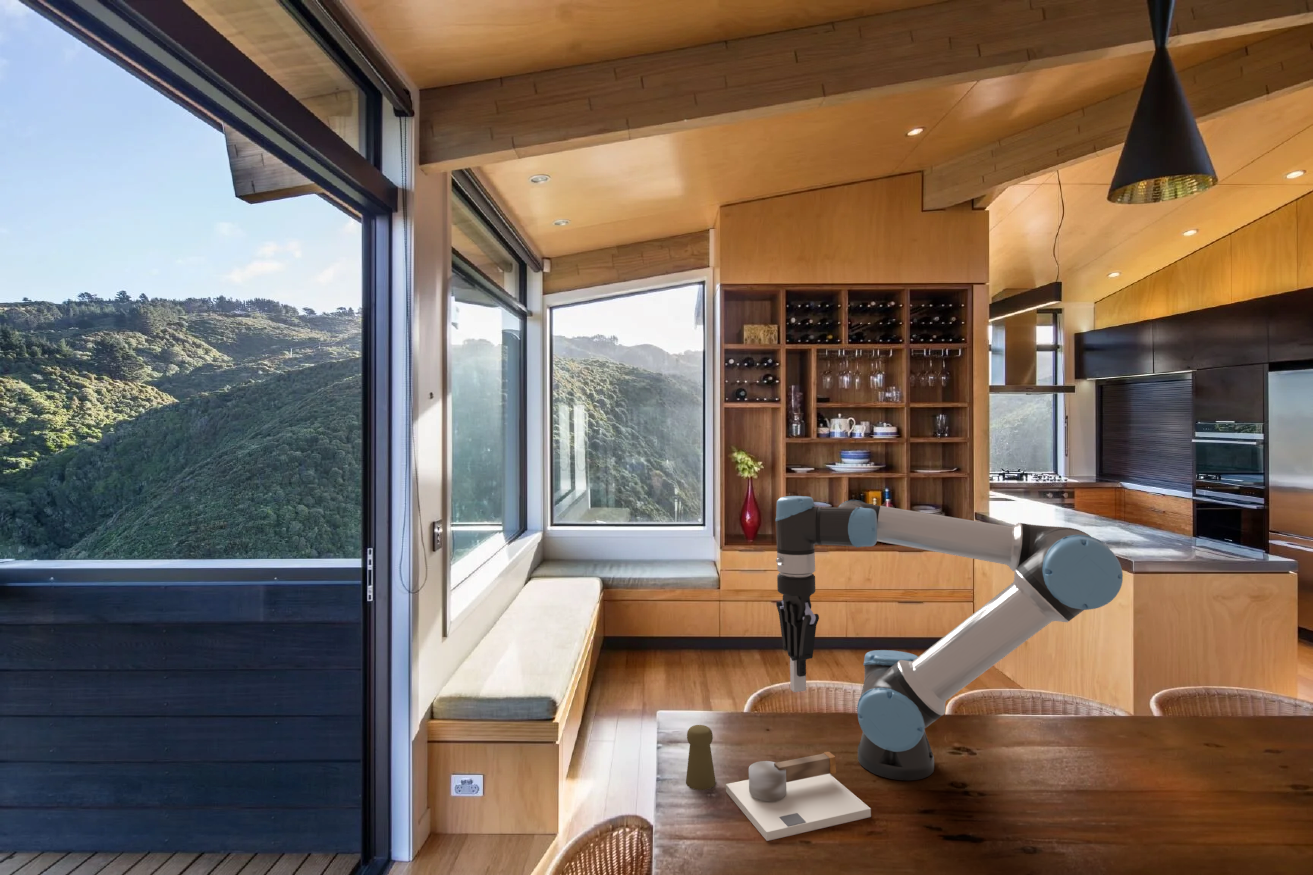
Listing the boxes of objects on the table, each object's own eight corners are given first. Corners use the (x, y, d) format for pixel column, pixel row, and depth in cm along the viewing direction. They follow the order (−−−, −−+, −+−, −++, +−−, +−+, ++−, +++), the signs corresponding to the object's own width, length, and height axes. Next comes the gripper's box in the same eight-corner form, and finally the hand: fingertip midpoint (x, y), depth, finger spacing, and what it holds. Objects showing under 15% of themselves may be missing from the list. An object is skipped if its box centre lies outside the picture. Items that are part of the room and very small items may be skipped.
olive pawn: (714, 791, 131) (712, 734, 131) (683, 788, 132) (682, 732, 132) (717, 775, 136) (716, 721, 136) (688, 773, 138) (687, 720, 138)
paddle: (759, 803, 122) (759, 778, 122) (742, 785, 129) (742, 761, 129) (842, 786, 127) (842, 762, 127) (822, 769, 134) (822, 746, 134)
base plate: (819, 772, 137) (819, 764, 137) (870, 816, 121) (870, 807, 121) (725, 791, 130) (725, 783, 130) (766, 840, 114) (766, 831, 114)
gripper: (764, 568, 139) (766, 681, 139) (796, 581, 127) (798, 704, 127) (795, 566, 142) (798, 676, 142) (830, 577, 129) (832, 699, 129)
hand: (798, 689), depth 134 cm, fingers closed
